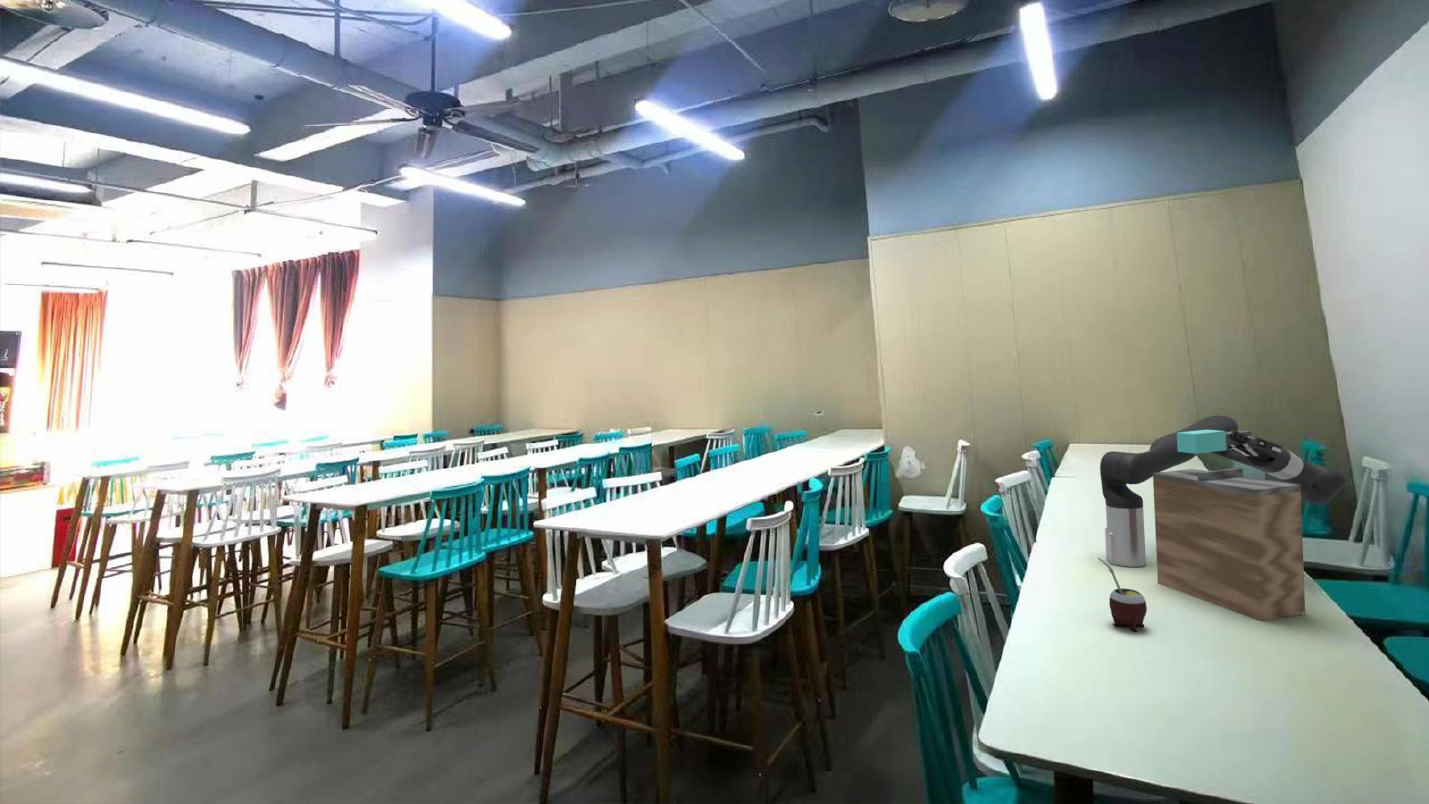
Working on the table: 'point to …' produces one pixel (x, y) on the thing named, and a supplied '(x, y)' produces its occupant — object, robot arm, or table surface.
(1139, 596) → the mate gourd
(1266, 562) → the cabinet
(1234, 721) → the table surface
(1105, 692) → the table surface
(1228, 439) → the block
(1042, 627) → the table surface
